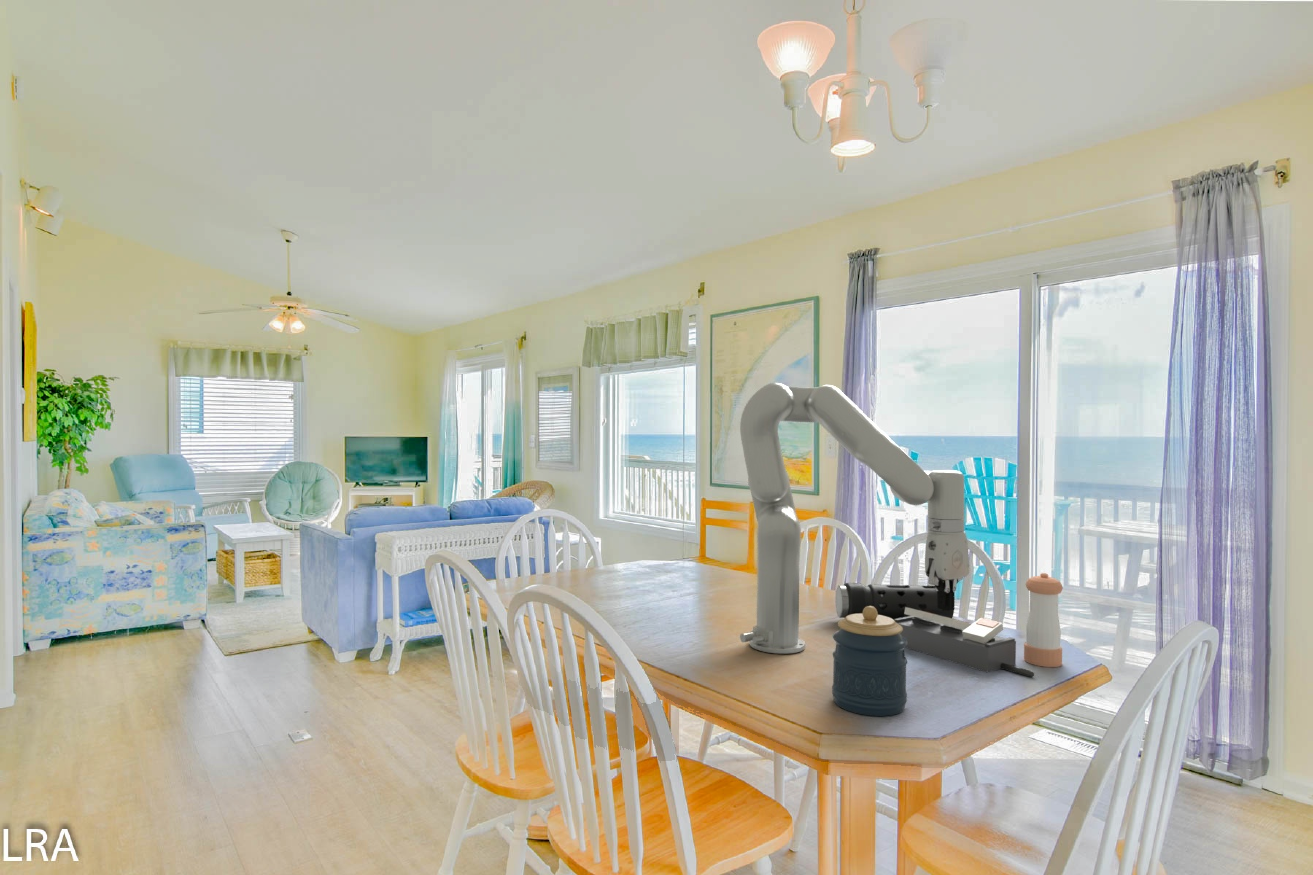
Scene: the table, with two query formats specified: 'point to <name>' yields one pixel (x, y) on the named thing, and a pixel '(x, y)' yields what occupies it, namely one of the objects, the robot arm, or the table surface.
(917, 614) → the bar
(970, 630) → the rocker
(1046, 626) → the pepper shaker
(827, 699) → the table surface
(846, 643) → the canister
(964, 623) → the rocker
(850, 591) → the muzzle brake
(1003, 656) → the strip
